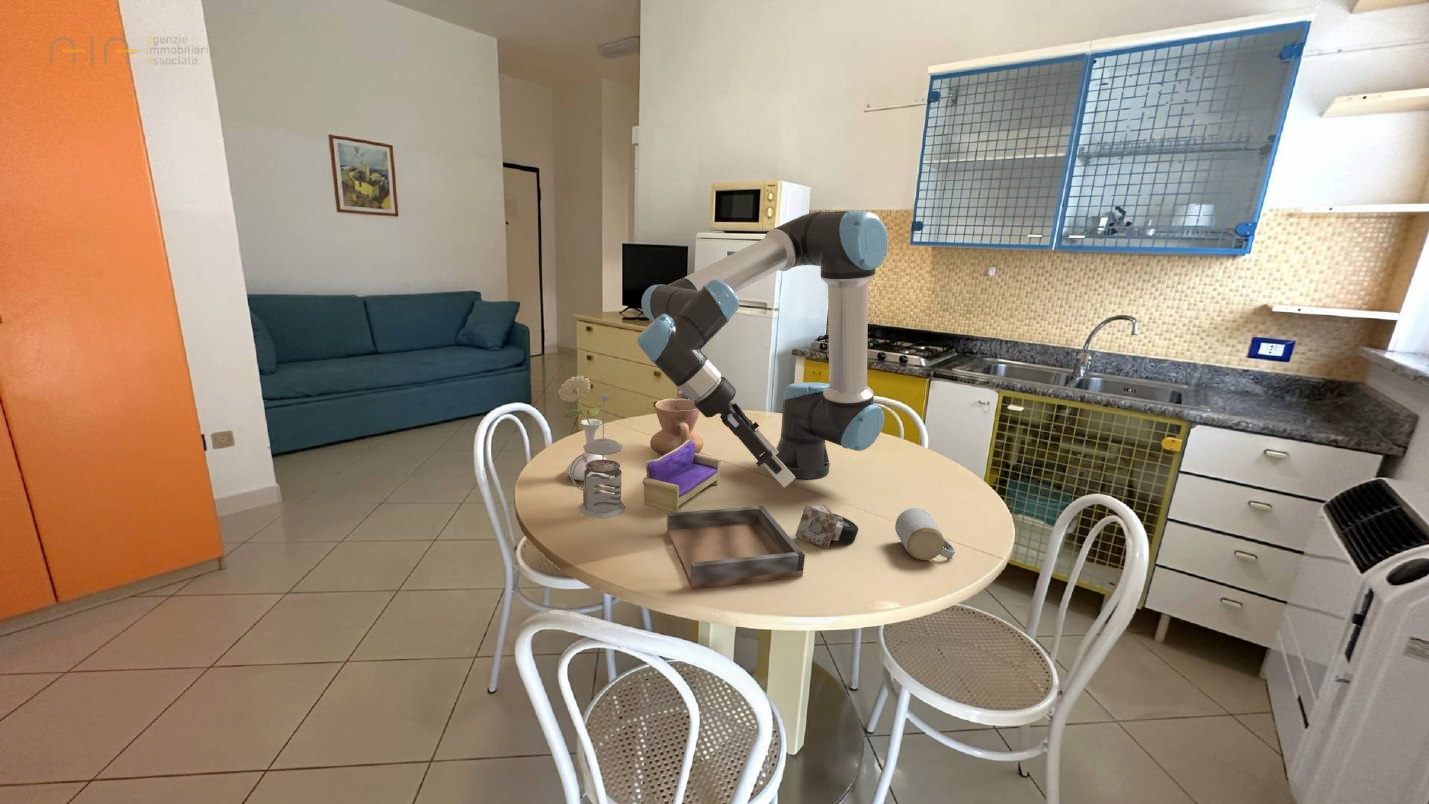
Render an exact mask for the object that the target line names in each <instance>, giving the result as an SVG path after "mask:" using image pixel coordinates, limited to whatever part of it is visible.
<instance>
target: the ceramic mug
mask: <svg viewBox="0 0 1429 804" xmlns="http://www.w3.org/2000/svg"><path fill="white" fill-rule="evenodd" d="M894 528H895V532H896V535H897V536H898V538H899V540H900V541H901V542H900V543H902V545H903V546H904V548H905V550H906V551H907V553H909V554H910V556H911V557H913V558H914V559H917V560H919V559H920V561H929V560H932V559H935V558H937V557H938V556H942V557H944V558H947V559H951V558H952V557H953V556H954V555H955V553H956V550H955V548H954V546H953V545H952V544H951V543H950V542H949V541H947V540H946V539H945V538H944V535H943V533H942V531H941V529H940V528H939V526H938V524H937V523H936V521H935V519H934V517H933V516H932V515H931V513H929V512H928V511H927V510H925V509H923V508H921V507H912V508H908V509H905V510H904V511H902V513H900V514H899V515H898V516H897V518H896V519H895V525H894ZM943 547H944V548H943ZM945 548H946V549H945ZM950 557H951V558H950Z"/></svg>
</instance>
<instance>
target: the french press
mask: <svg viewBox="0 0 1429 804" xmlns="http://www.w3.org/2000/svg"><path fill="white" fill-rule="evenodd" d="M598 398H599V399H598V400H599V401H602V438H596V439H595V440H592V441H590V442H588V443H587V444H586V443H585V444H584V445H583V450H584V452H585V451H586V452H587V453H590V454H595V455H601V456H603V459H602V460H600V459H599V460H598V459H597V460H595V461H594V460H592V461H591V462H588V463H587V458H586V457H585V456H584V455H582V454H580V455H578V456H577V457H576V458H575V459H574V460H573V461H572V462H573V463H572V462H571V463H572V465H571V468H570V476H569V477H570V480H571V482H572V484H573V485H574V486H575V487H576V488H577V489H578V490H581V491H582V503H581V505H580V506H579V508H578V509H579V512H580V514H582V515H583V516H586V517H589V518H592V519H609V518H615V517H619V516H620V515H622V514H623V513H625V511H626V509H627V507H626V505H624V504H625V503H624V502H623V501H622V470H621V464H620V463H619V462H618V461H616V460H612V459H607V458H605V457H604V456H608V455H614V454H618V453H621V451H622V450H623V449H624V446H623V444H622V443H620V442H619V441H617V440H614V439H610V438H606V437H604V434H605V401H608V400H610V399H609V395H608V394H605V393H601V394H600V395H599V397H598ZM580 456H583V458H581V459H580V460H582V459H583V460H584V462H585V463H587V464H586V465H585V466H586V468H587V469H586V470H585V471H584V481H583V486H581V485H579V484H577V483H576V481H575V479H574V470H575V467H576V465H577V464H578V463H579V462H580V460H579V461H578V462H577V463H576V465H575V466H574V470H573V473H572V471H571V470H572V466H573V464H574V462H575V461H576V460H577V458H579V457H580ZM585 458H586V461H585ZM604 458H605V459H604ZM606 459H607V460H606ZM590 472H595V473H603V474H606V475H610V477H609V478H607V477H604V476H601V475H599V474H592V475H590V476H587V475H588V474H589V473H590ZM572 474H573V478H572ZM592 477H599V478H602V479H594V478H592ZM611 477H612V478H611ZM601 485H603V486H601ZM602 491H604V492H602Z"/></svg>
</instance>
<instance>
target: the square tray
mask: <svg viewBox="0 0 1429 804" xmlns="http://www.w3.org/2000/svg"><path fill="white" fill-rule="evenodd" d="M666 534H667V536H668V539H669V541H670V543H671V546H672V548H673V549H674V553H675V555H676V557H677V559H678V562H679V564H680V566H681V569H682V570H683V573H684V574H685V575H684V576H685V577H686V580H687V582H688V584H689V586H690V589H691V590H696V589H706V588H716V587H723V586H734V585H742V584H749V583H750V584H751V583H759V582H760V583H761V582H766V581H777V580H785V579H794V578H803V576H804V570H805V569H804V568H805V566H804V565H805V557H806V554H805V553H804V552H803V551H802V550H801V548H800V547H799V546H798V545H797V544H796V543H795V541H794V540H793V539H792V538H791V537H790V536H789V534H788V533H787V532H786V531H785V530H784V528H783V527H782V526H781V525H780V524H779V523H778V522H777V520H776V519H775V518H774V517H773V516H772V514H771V513H770V512H769V511H768V509H766V507H764V506H763V505H760V506H759V505H758V506H746V507H745V506H744V507H733V508H732V507H731V508H717V509H705V510H702V509H701V510H691V511H690V510H688V511H678V512H675V513H668V512H667V521H666Z"/></svg>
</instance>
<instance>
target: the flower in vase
mask: <svg viewBox="0 0 1429 804" xmlns="http://www.w3.org/2000/svg"><path fill="white" fill-rule="evenodd" d="M560 387H561V388H559V389H558V390H557V391H558V392H557V393H558V395H559V398H560V400H563V402H564V401H567V402H568V403H569V402H571V403H572V402H576V401H578V405H579V410H578V409H570V410H569V411H567V412H566V413H565V414H564V415H563V417H562V418H570V419H571V418H573V419H575V418H577V417H578V416H579V415H581V413H582V415H583V416H584V419H583V420H580V421H579V424H580V425H581V426H582V428H583V430H584V434H585V435H584V436H585V444H587V443H588V442H590V441H592V440H595V439H597V433H598V430H599V427H600V426H601V425H602V424H603V420H601V419H596V418H592V417H596V416H597V415H598V414H599V412H600V411H601V405H598V406H597V407H594V408H592V409H589V410H588V411H587V413H586V414H585V412H584V410H583V409H582V406H581V405H582V404H581V400H580V399H582V398H585V397H586V395H587V394H588V393H589V391H591V390H592V389H591V381H590V378H589V377H588V378H585V377H584V375H581V376H580V375H576V376H575V377H574V376H571V377H570V378H569V379H567V380H565V381H564V383H561V385H560ZM581 455H584V456H585V457H586V458H587V463H588V462H591V461H592V460H594V461H595V460H597V459H598V460H599V459H600V460H602V459H603V455H595V454H590V453H587V452H586V451H585V450H584V452H583V453H581ZM579 456H580V455H579ZM576 458H577V457H576ZM581 458H583V456H580V457H579V458H577V460H576V461H575V462H574V464H573V466H572V470H571V471H572V473H573V470H574V466H575V465H576V463H577V462H578V461H579V460H580V459H581ZM586 458H585V461H586ZM604 459H606V460H608V459H607V458H606V457H604ZM572 463H573V461H571V462H570V464H569V465H568V466H566V474H567V475H568V477H570V468H571V465H572ZM587 463H585V462H584V460H583V459H582V460H580V462H579V463H578V464H577V465H576V467H575V470H574V480H577V481H579V482H580V481H581V482H584V471H585V470H586V469H587V468H586V466H585V465H586V464H587ZM592 474H599V475H601V476H604V477H607V478H611V476H610V475H606V474H603V473H595V472H590V473H589V474H588V475H587V476H590V475H592ZM592 478H594V479H602V478H599V477H592ZM572 479H573V474H572Z"/></svg>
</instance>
